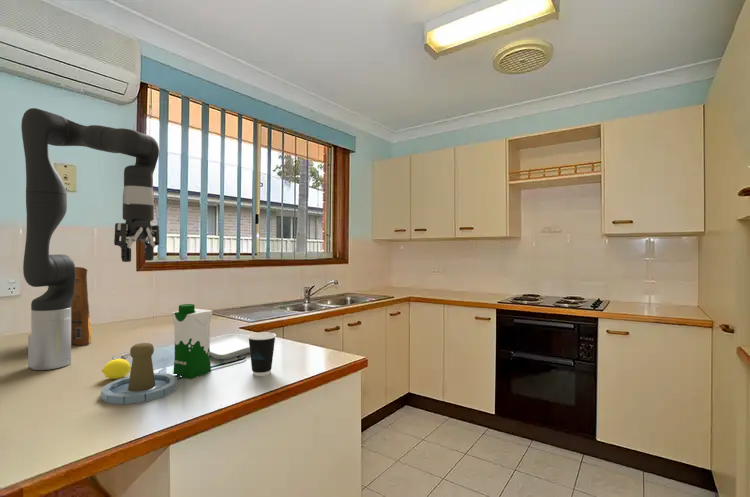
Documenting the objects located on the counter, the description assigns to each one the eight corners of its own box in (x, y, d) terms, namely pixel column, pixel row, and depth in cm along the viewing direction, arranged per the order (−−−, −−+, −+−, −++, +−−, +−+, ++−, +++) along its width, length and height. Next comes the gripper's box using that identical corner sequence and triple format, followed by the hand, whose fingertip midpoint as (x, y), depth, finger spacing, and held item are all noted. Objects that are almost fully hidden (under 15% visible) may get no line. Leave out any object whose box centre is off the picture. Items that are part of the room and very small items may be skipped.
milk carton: (167, 376, 109) (168, 305, 108) (195, 367, 117) (195, 300, 117) (190, 381, 105) (190, 307, 105) (216, 371, 113) (217, 303, 113)
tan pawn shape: (142, 392, 95) (142, 347, 94) (121, 390, 96) (122, 345, 96) (161, 383, 101) (161, 341, 100) (141, 381, 102) (141, 340, 102)
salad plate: (273, 349, 138) (273, 340, 138) (221, 365, 120) (221, 354, 120) (234, 340, 150) (234, 332, 150) (182, 353, 132) (182, 343, 132)
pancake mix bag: (75, 348, 135) (76, 268, 135) (55, 340, 146) (55, 265, 145) (98, 344, 141) (98, 267, 140) (76, 336, 151) (77, 264, 151)
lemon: (125, 375, 111) (128, 356, 111) (133, 379, 107) (136, 359, 108) (96, 378, 105) (100, 358, 106) (103, 383, 102) (107, 362, 102)
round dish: (84, 401, 91) (84, 393, 91) (135, 378, 107) (135, 371, 107) (146, 406, 89) (147, 398, 89) (189, 381, 105) (189, 375, 105)
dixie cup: (249, 379, 107) (249, 339, 107) (245, 370, 114) (246, 333, 114) (278, 375, 110) (278, 337, 110) (273, 367, 118) (273, 331, 117)
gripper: (144, 206, 117) (144, 259, 117) (105, 200, 103) (105, 262, 103) (167, 206, 116) (167, 260, 116) (131, 200, 102) (130, 262, 102)
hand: (138, 261), depth 110 cm, fingers open, 8 cm apart
